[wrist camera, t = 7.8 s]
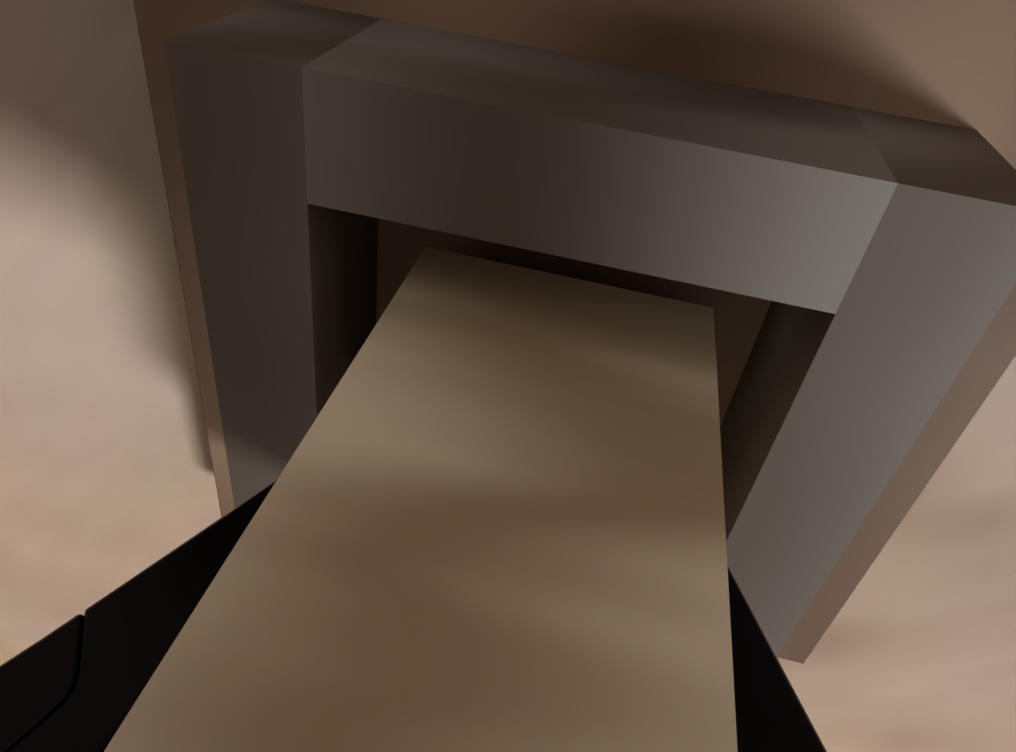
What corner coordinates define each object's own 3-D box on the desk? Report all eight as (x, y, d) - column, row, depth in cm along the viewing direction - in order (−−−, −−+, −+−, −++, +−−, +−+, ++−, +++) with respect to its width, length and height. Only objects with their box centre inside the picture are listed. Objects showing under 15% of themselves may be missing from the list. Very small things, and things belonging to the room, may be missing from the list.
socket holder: (1221, -40, 8) (1490, 23, 5) (797, 623, 16) (820, 785, 13) (145, -217, 9) (-83, -239, 6) (243, 488, 17) (158, 613, 14)
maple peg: (713, 308, 10) (759, 1164, 3) (641, 507, 12) (593, 1224, 6) (425, 246, 10) (-11, 930, 4) (412, 454, 13) (132, 1080, 6)
